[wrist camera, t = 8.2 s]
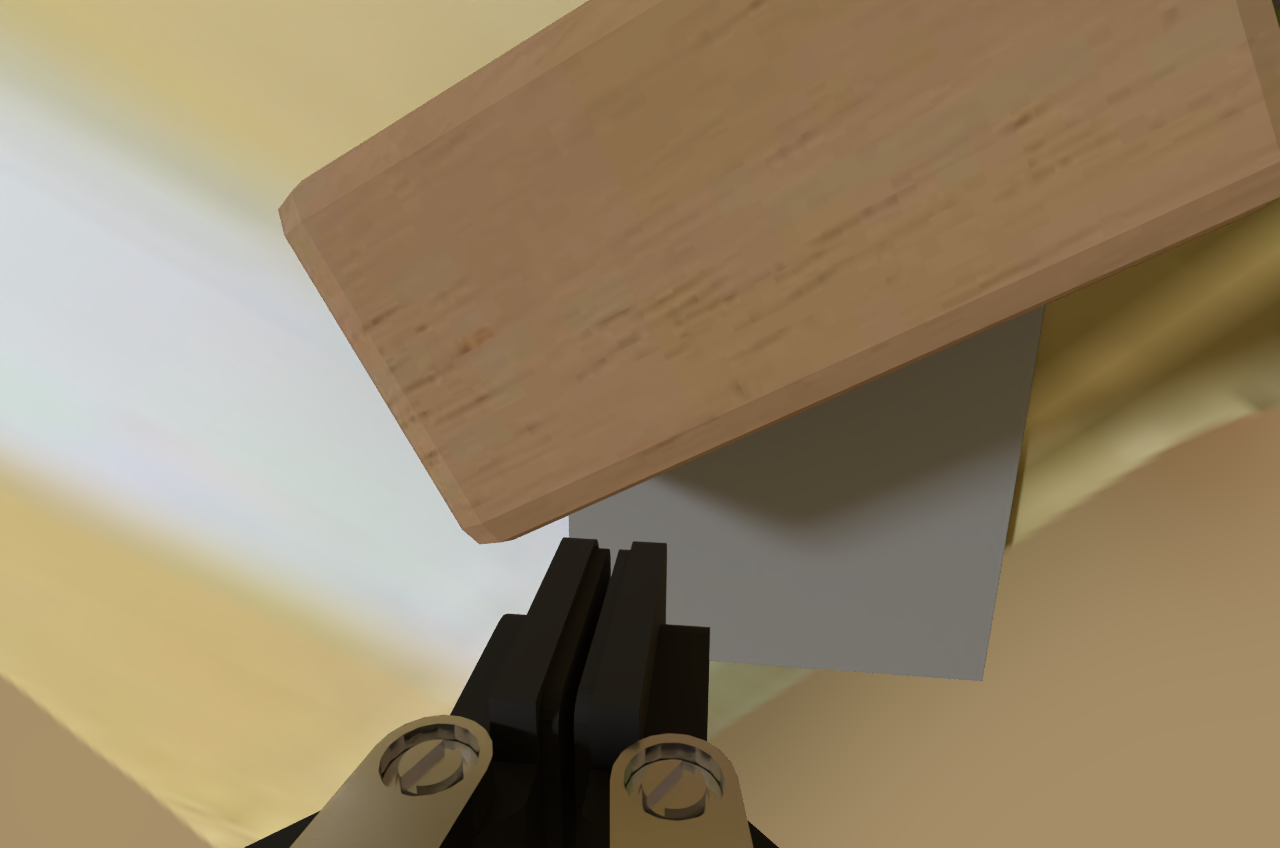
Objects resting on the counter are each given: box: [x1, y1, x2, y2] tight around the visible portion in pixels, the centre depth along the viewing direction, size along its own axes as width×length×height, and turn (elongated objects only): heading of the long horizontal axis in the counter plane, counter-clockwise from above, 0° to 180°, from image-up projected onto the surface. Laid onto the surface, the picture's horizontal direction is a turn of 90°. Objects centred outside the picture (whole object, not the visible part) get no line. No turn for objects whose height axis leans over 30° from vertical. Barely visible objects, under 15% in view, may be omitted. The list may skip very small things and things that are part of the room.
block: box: [278, 0, 1280, 544], centre depth 20 cm, size 10×10×20 cm
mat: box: [569, 305, 1045, 681], centre depth 26 cm, size 22×16×1 cm
